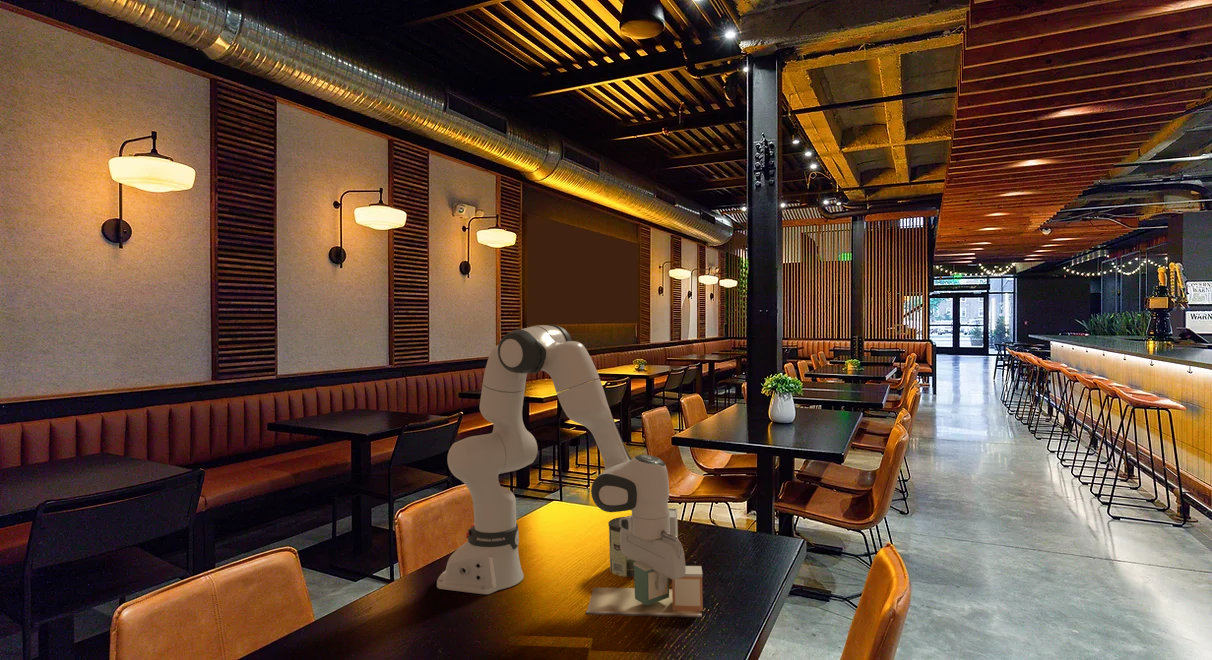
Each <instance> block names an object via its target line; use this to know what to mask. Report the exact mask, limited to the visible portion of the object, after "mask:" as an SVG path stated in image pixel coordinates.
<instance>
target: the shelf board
mask: <svg viewBox="0 0 1212 660" xmlns="http://www.w3.org/2000/svg"><path fill="white" fill-rule="evenodd" d="M585 615H599V616H604V615H605V616H631V617H632V616H634V617H636V616H637V617H638V616H639V617H666V618H667V617H668V618H669V617H670V618H671V617H672V618H673V617H675V618H678V617H679V618H703V615H702V611H679V610H673V599H672V588H669V598H666V599H663V600H661V601H658V602H655V603H652V604H649V605H645V604H643V603H641V602H640V601H638V600H636V599H635V587H602V586H601V587H598V586H597V587H593V588H592V593H591V596H590V599H589V603H588V605H587V610H586V611H585Z"/></svg>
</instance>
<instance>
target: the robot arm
mask: <svg viewBox="0 0 1212 660" xmlns="http://www.w3.org/2000/svg"><path fill="white" fill-rule="evenodd" d="M541 371H543V372H545V373H547V374H548V375H549V376H550V378H551V381H552V382H553V387H554V389H555V392H556V396H557V398H558V401H559V404H560V407H561V408H562V411H563V412H564V414H565V415H566V417H567V418H568V419H569V420H571V421H572V422H574V423H577V424H579V425H581V426H583V427H584V428H586V429H588V431H589V432H590V433H591V435H592V436H593V438H594V441H595V442H596V445H597V448H598V450H599V452H600V455H601V458H602V460H603V463H604V470H603V471H602V472H600V474H599V475H597V476H596V478H595V479H594V480H593V482H592V484H591V488H590V495H591V499H592V501H593V502H594V504H595V505H596V507H598V509H600V510H601V511H603V512H606V513H619V512H626V511H631V515H627V516H623V517H624V518H620V520H619V525H620V527H621V530H620V549H621V552H622V554H623V555H624V556H626V557H628V558H630V559H632V560H634V561H636V562H637V561H641V562H643V563H645V564H647V565H649V566H651V567H652V570H654V571H656V572H658V576H659V580H658V581H657V582H655V585H656V587H655V588H656V589H657V590H659V591H663V590H665V582H666V580H667V578H669V580H671V581H672V580H675V579H678V578H681V577H683V576H684V575H685V573H686V568H685V566H686V559H685V552H684V548H683V545H682V543H681V541H680V540H679V537H677V536H675V535H671V534H670V512H669V504H668V503H669V498H670V484H669V482H670V481H669V474H668V468H667V466H666V463H665V462H664V461H663V460H662V459H661V458H659V457H657V456H654V455H648V454H638V455H635V456H634V457H633V458H632V457H631V456H630V455H629V453H628V450H627V448H626V446H625V443H624V441H623V439H622V436H621V433H620V431H619V428H618V427H617V424H616V422H615V420H614V417H613V415H612V412H611V409H610V406H609V404H608V400H607V397H606V393H605V390H604V387H603V385H602V382H601V381H602V380H601V378H600V375H599V373H598V371H597V368H596V366H595V363H594V361H593V358H592V357H591V355H590V354H589V352H588V350H587V348H586V347H585V345H584V344H583V343H581V342H579V341H575V340H572V337H571V334H570V333H569V332H568V331H567V330H566V329H565V328H564V327H562V326H559V325H556V324H545V325H544V324H543V325H540V324H539V325H537V324H536V325H532V326H529V327H526V328H525V327H524V328H519V329H515V330H512V331H509V332H508V333H506V334H505V335H504V336H502V338H501V339H500V340H499V343H498V345H495V346H494V347H492V349H491V350H490V352H489V355H488V358H487V361H486V365H485V369H484V373H483V377H482V378H483V379H482V386H481V394H480V401H479V412H480V414H481V416H482V417H483V419H484V420H487V422H489V423H491V424H493V429H492V432H490V433H487V434H486V433H485V434H479V435H472V436H468V437H465V438H463V439H460V440H458V441H456V442H454V443H452V445H451V446H450V447H449V449H448V452H447V459H446V460H447V466H448V469H449V471H450V472H451V473H452V475H453V476H454V477H455V478H456V479H458V480H460V481H461V482H462V483H464V485H465V486H466V487H467V489H468V491H469V492H470V495H471V499H472V504H473V519H474V520H473V522H472V524H470V527H469V528H468V529H467V532H466V533H465V539H467V541H466V542H465V543H463V544H462V545H461V546H460V547H459V548H457V549H456V550H455V551H454V552H453V553H452V554H451V555H450V556H449V558H448V560H447V563H446V568H445V570H444V571H443V572H442V573H441V574H440V575H439V576H438V578H437V580H436V588H437V589H438V590H447V591H456V592H463V593H470V594H471V593H472V594H480V595H490V594H494V593H495V592H497V591H500V590H505V589H507V588H511V587H513V586H516V585H518V584H519V583H521V582H522V581H523V579H524V576H525V574H524V572H523V569H522V565H521V561H520V555H519V544H520V539H519V538H520V537H519V535H520V533H519V531H520V530H519V525H518V523H517V499H516V496H515V494H514V493H513V492H512V490H510V489H508V488H506V487H504V486H501V484H500V480H499V475H500V474H504V473H509V472H515V471H519V470H522V469H523V468H526V467H527V466H529V465H531V464H533V463H534V461H535V460H536V458H537V456H538V443H537V440H536V438H535V436H534V435H533V434H532V433H531V432H530V431H529V430H527V428H526V426H525V424H524V420H523V406H524V399H525V390H526V383H527V377H528V374H539V373H540V372H541Z"/></svg>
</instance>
